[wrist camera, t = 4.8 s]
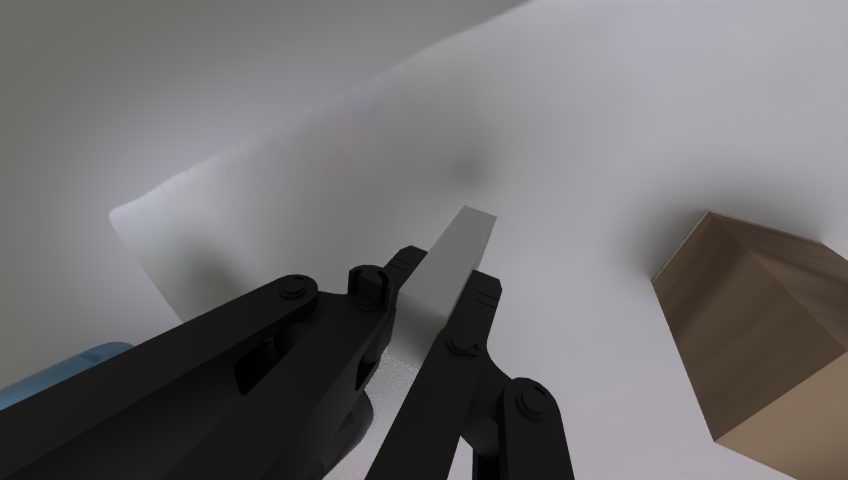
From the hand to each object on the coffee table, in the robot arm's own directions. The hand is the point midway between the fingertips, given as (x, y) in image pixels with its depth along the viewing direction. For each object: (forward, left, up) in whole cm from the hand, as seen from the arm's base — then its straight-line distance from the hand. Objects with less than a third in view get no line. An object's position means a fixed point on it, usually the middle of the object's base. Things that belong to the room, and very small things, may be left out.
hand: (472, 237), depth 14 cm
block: (+13, 0, -7) cm, 15 cm away
